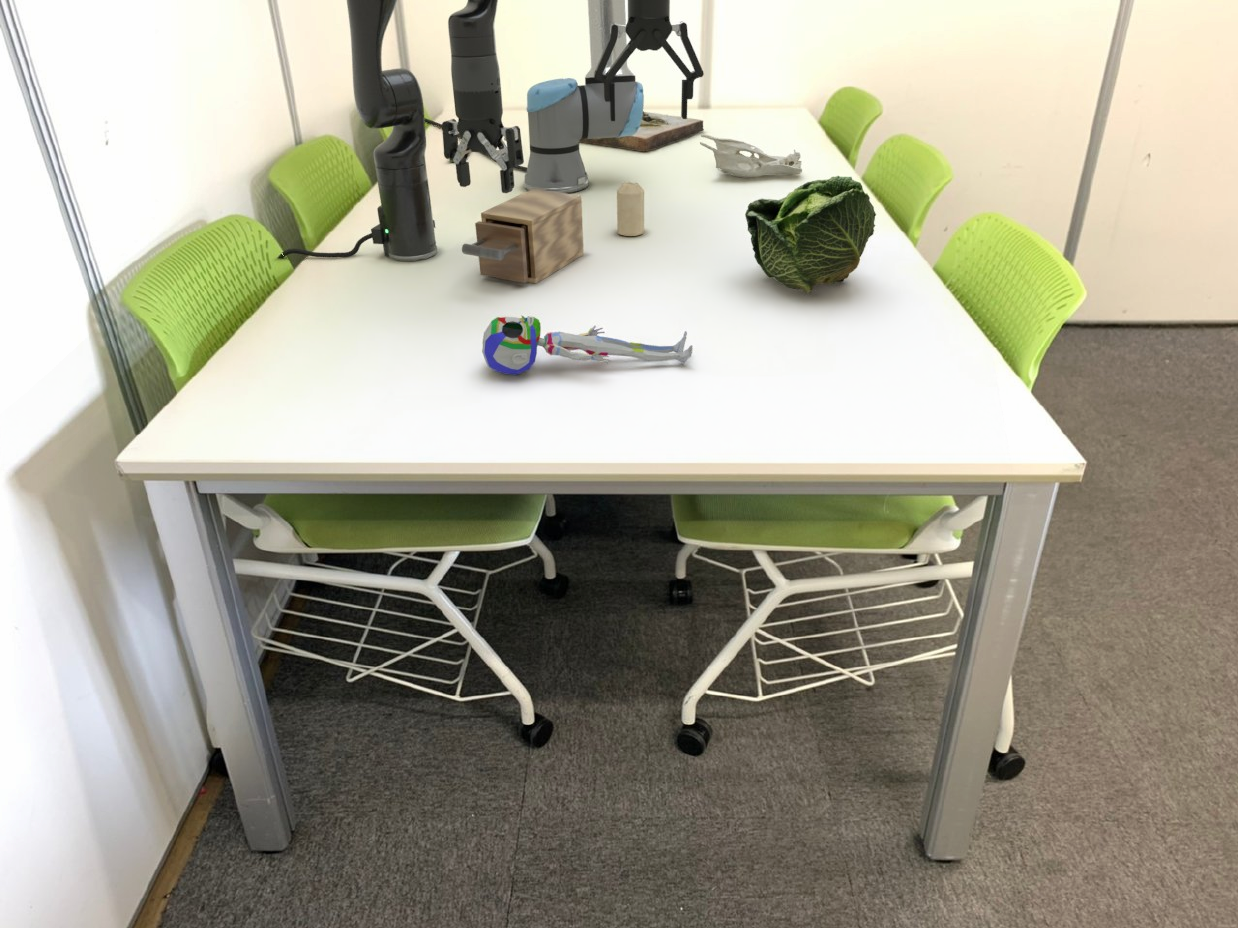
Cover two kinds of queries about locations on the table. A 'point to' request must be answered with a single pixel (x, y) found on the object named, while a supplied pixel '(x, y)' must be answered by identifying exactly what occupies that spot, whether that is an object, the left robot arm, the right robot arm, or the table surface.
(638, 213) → the candle
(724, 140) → the anatomical model
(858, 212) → the vegetable
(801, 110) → the table surface
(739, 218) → the table surface
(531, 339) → the toy
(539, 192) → the cabinet
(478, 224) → the drawer
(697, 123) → the plaque
